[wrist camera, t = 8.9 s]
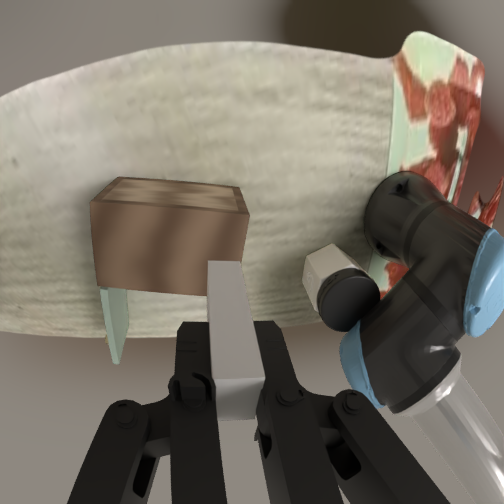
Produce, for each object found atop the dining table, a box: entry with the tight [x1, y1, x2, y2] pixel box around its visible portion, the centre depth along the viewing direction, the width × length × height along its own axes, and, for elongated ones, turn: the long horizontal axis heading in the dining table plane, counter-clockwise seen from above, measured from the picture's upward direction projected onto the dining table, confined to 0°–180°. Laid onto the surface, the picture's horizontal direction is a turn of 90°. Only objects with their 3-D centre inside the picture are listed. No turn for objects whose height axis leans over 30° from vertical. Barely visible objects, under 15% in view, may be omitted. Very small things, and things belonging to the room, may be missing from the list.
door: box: [100, 286, 129, 364], centre depth 36 cm, size 14×3×9 cm, turn 168°
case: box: [90, 177, 250, 296], centre depth 32 cm, size 16×10×10 cm, turn 80°
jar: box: [302, 243, 380, 332], centre depth 38 cm, size 9×8×12 cm
